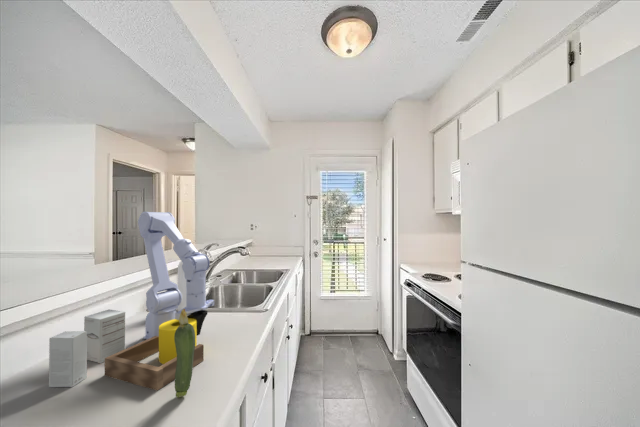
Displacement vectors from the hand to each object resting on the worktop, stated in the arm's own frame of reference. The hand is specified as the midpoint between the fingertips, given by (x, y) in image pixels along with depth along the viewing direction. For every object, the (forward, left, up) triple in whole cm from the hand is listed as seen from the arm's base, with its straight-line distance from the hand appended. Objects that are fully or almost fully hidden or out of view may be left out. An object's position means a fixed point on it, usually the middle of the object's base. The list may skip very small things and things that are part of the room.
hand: (196, 334), depth 87 cm
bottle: (-31, +26, -4) cm, 40 cm away
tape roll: (0, -7, -4) cm, 8 cm away
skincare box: (-15, -26, -4) cm, 31 cm away
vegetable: (+17, -20, -4) cm, 27 cm away
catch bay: (0, -13, -3) cm, 14 cm away
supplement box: (-21, -14, -4) cm, 26 cm away
